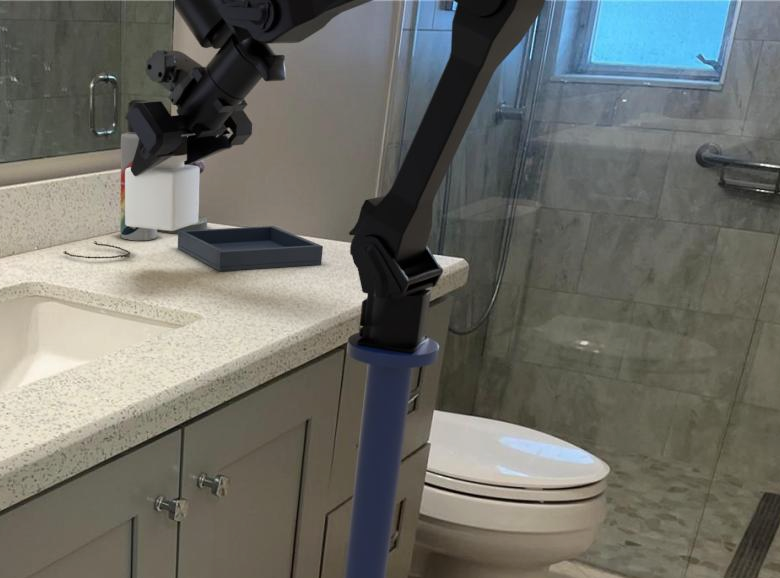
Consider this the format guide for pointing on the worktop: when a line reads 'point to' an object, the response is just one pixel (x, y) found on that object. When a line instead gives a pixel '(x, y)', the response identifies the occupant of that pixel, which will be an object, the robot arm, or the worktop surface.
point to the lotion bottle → (127, 155)
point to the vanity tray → (249, 248)
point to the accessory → (102, 257)
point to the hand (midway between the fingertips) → (154, 170)
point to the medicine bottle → (163, 194)
